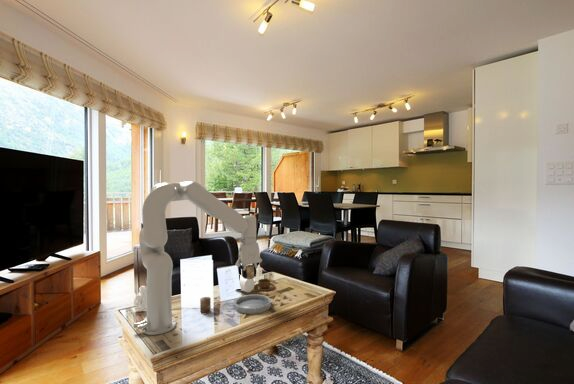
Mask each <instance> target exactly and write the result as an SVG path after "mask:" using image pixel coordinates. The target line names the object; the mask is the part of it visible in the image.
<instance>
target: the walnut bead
mask: <svg viewBox="0 0 574 384" xmlns="http://www.w3.org/2000/svg"><path fill="white" fill-rule="evenodd" d="M199 301H200V303H199V304H200V305H199V307H200V310H199V311H200V312H201V314H202V313H206V314H210V313H211V312H212V311H211V310H212V308H211V303H212V302H211V297H210V296H204V297H201V298H200V300H199Z"/></svg>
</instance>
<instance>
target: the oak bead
mask: <svg viewBox="0 0 574 384" xmlns="http://www.w3.org/2000/svg"><path fill="white" fill-rule="evenodd" d="M246 271H247V278H246V279H254V278H255V277H254V265H252V264H248V265H246Z"/></svg>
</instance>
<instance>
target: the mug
mask: <svg viewBox="0 0 574 384" xmlns="http://www.w3.org/2000/svg"><path fill="white" fill-rule="evenodd" d="M239 275H240V286H241V290H240V291H242V292H245V293H251V292H252V291H254V285H256V284H257V283H256V282H257V280H256V279H254V278H253V279H245V278H243V277H242V274H239ZM255 283H256V284H255Z"/></svg>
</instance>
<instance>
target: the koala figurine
mask: <svg viewBox="0 0 574 384" xmlns="http://www.w3.org/2000/svg"><path fill="white" fill-rule="evenodd" d="M133 300H134V301H133V305H134V307H137V310H136V312H137V313H139V312H146V313H147V307H146V285H141V286H140V287H138V293H137V294H136V295H135V297H134V299H133Z"/></svg>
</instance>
